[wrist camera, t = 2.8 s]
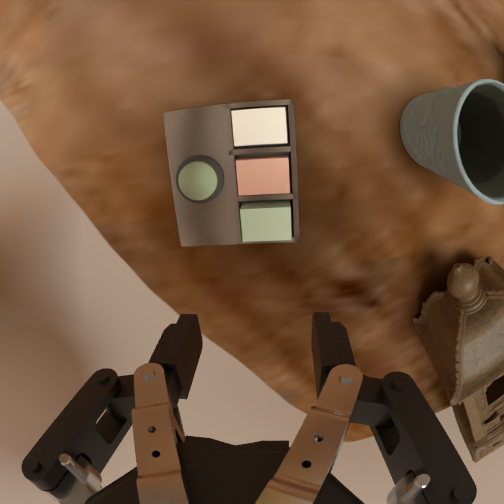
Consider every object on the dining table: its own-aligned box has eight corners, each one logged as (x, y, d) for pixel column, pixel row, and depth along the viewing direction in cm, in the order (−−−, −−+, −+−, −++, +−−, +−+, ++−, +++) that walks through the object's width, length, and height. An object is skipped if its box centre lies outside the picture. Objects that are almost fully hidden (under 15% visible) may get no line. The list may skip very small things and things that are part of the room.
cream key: (284, 108, 26) (285, 107, 23) (286, 141, 27) (287, 143, 25) (234, 111, 26) (231, 110, 24) (237, 144, 27) (234, 146, 25)
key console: (291, 101, 27) (294, 98, 23) (297, 231, 33) (300, 247, 29) (173, 113, 28) (158, 112, 24) (188, 236, 34) (177, 251, 30)
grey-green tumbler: (379, 102, 26) (434, 95, 15) (449, 77, 23) (516, 68, 12) (413, 188, 29) (472, 224, 18) (477, 158, 27) (544, 181, 16)
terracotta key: (287, 154, 27) (288, 157, 25) (288, 187, 29) (290, 193, 26) (238, 157, 28) (235, 160, 26) (241, 189, 29) (238, 195, 27)
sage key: (289, 200, 29) (290, 207, 27) (290, 231, 30) (291, 240, 28) (242, 202, 30) (239, 209, 27) (245, 232, 31) (242, 241, 29)
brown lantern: (375, 262, 36) (404, 375, 20) (483, 191, 29) (572, 263, 13) (445, 389, 45) (462, 468, 29) (518, 346, 37) (551, 419, 21)
